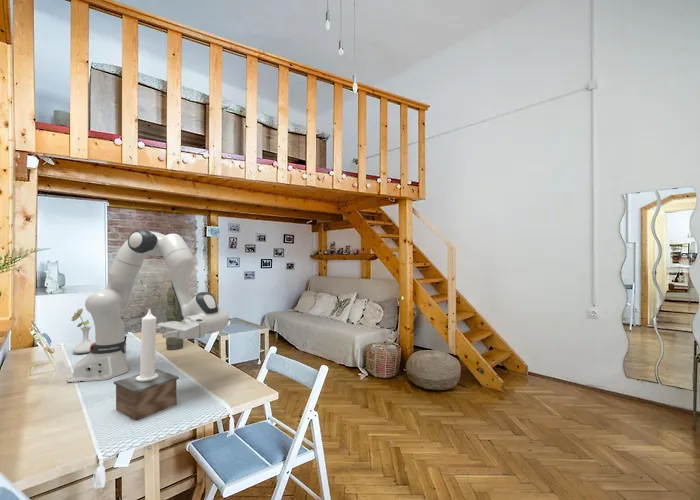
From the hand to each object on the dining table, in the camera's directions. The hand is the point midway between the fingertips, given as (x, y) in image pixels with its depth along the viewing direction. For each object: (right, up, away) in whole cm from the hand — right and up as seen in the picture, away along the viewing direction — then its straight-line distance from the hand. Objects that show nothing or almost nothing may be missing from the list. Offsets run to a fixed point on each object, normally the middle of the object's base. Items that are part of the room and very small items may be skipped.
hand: (156, 333), depth 125 cm
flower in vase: (-76, -26, +62) cm, 102 cm away
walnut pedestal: (-2, -26, -3) cm, 26 cm away
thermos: (-30, -26, +71) cm, 81 cm away
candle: (-2, -16, -3) cm, 16 cm away
